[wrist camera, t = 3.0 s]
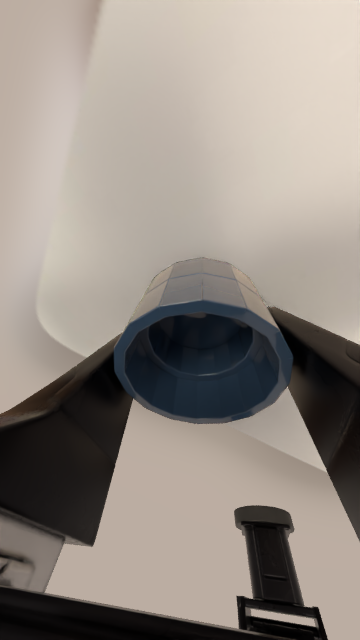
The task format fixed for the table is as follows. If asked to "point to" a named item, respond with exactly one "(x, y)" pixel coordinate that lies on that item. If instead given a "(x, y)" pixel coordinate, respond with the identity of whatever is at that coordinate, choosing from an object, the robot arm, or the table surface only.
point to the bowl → (203, 346)
